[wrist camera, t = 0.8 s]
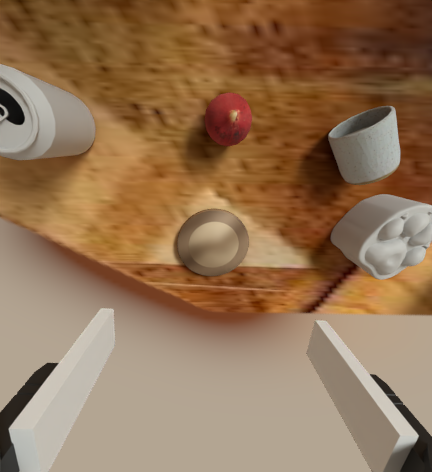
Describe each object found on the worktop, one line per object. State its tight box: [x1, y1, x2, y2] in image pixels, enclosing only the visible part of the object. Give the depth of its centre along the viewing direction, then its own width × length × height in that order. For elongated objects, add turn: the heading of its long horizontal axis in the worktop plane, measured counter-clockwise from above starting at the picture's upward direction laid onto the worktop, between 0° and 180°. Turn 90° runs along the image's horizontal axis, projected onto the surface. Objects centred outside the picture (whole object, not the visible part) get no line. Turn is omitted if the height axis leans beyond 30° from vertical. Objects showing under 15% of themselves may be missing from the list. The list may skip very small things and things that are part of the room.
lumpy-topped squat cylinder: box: [331, 194, 432, 279], centre depth 36 cm, size 10×13×9 cm
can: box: [0, 64, 96, 160], centre depth 23 cm, size 8×8×12 cm
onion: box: [205, 93, 252, 146], centre depth 27 cm, size 6×6×8 cm
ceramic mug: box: [328, 106, 400, 185], centre depth 30 cm, size 11×8×8 cm
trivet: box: [178, 209, 249, 276], centre depth 37 cm, size 12×12×1 cm
